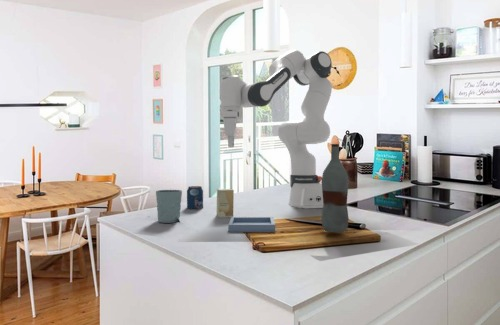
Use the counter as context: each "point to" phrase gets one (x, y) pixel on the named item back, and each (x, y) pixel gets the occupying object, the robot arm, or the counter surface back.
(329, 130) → the robot arm
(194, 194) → the soda can
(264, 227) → the slate tray
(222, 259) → the counter surface
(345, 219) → the bottle
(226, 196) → the skincare box
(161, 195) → the green tapered cup
